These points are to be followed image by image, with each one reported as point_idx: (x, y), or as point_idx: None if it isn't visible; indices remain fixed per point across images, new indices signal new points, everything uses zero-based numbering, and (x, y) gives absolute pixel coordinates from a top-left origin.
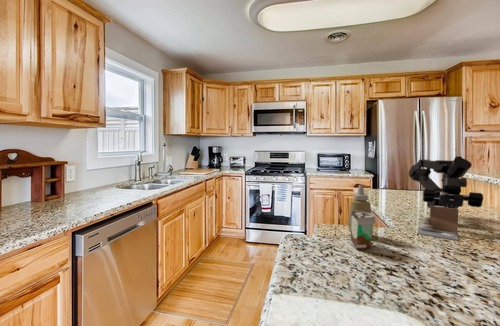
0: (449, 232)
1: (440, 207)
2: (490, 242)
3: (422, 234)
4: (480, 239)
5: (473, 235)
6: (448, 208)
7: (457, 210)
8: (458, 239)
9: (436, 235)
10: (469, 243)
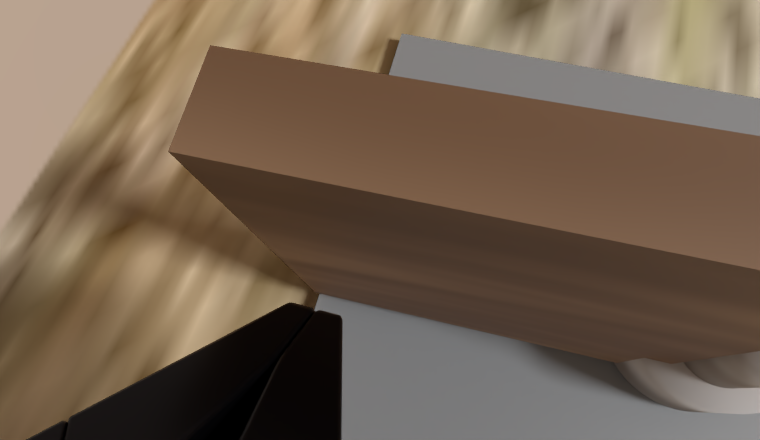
0: (386, 340)
1: (650, 157)
2: (102, 134)
3: (735, 97)
4: (137, 213)
5: (110, 387)
6: (439, 85)
7: (240, 65)
8: (400, 42)
9: (589, 98)
10: (332, 6)
